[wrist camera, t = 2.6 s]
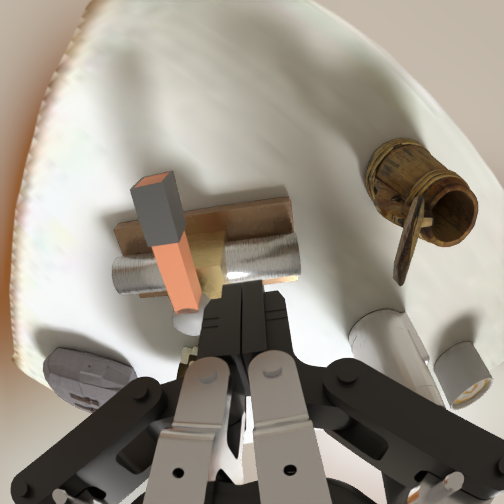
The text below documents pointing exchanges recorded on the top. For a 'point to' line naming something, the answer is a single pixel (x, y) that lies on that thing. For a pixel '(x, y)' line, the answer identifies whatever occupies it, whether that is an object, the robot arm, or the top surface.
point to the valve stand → (216, 249)
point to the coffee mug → (462, 375)
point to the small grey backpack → (85, 377)
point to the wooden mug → (419, 199)
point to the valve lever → (170, 248)
